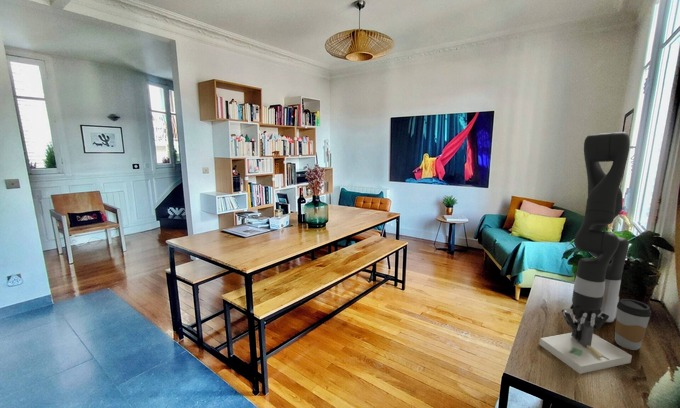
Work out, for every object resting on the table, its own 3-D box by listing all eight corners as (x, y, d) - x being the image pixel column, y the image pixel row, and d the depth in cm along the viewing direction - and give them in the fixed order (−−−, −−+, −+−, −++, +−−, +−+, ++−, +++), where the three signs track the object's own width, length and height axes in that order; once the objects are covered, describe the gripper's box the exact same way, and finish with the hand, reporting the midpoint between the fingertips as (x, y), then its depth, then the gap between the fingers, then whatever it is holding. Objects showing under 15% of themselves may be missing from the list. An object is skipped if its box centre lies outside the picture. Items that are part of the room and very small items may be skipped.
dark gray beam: (576, 335, 104) (579, 317, 103) (603, 358, 93) (607, 337, 92) (571, 335, 104) (574, 317, 103) (597, 358, 93) (601, 337, 92)
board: (585, 336, 108) (586, 329, 108) (630, 362, 95) (632, 355, 94) (539, 344, 104) (540, 337, 103) (579, 373, 90) (581, 365, 90)
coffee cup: (635, 339, 106) (642, 300, 103) (650, 354, 98) (658, 312, 96) (606, 335, 109) (612, 296, 106) (618, 349, 101) (625, 308, 98)
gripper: (602, 286, 101) (595, 333, 104) (558, 284, 102) (552, 331, 105) (621, 297, 93) (612, 347, 96) (572, 295, 95) (565, 345, 98)
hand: (580, 339), depth 101 cm, fingers closed on dark gray beam, 2 cm apart
